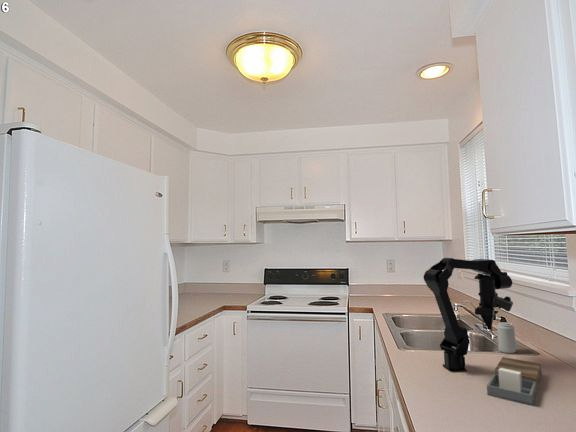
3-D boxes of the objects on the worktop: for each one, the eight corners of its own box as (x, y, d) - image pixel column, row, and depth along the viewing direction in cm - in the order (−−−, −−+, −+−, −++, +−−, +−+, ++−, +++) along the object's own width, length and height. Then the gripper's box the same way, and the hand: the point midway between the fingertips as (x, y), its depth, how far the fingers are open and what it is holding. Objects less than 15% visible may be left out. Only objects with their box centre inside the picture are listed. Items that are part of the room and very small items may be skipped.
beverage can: (518, 354, 149) (516, 325, 150) (502, 353, 150) (500, 325, 151) (512, 349, 155) (510, 321, 156) (496, 349, 157) (494, 321, 157)
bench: (536, 390, 116) (535, 378, 116) (495, 381, 123) (494, 370, 124) (541, 374, 128) (540, 363, 128) (503, 367, 136) (502, 357, 136)
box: (532, 405, 106) (531, 395, 106) (487, 394, 114) (486, 385, 114) (536, 391, 115) (535, 381, 116) (494, 382, 123) (494, 373, 123)
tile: (522, 390, 115) (520, 393, 113) (501, 385, 119) (499, 388, 117) (521, 372, 115) (519, 374, 113) (500, 367, 119) (498, 369, 118)
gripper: (506, 295, 131) (509, 338, 130) (514, 288, 145) (516, 326, 144) (473, 293, 138) (475, 333, 137) (483, 286, 152) (486, 323, 151)
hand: (489, 329), depth 142 cm, fingers closed
